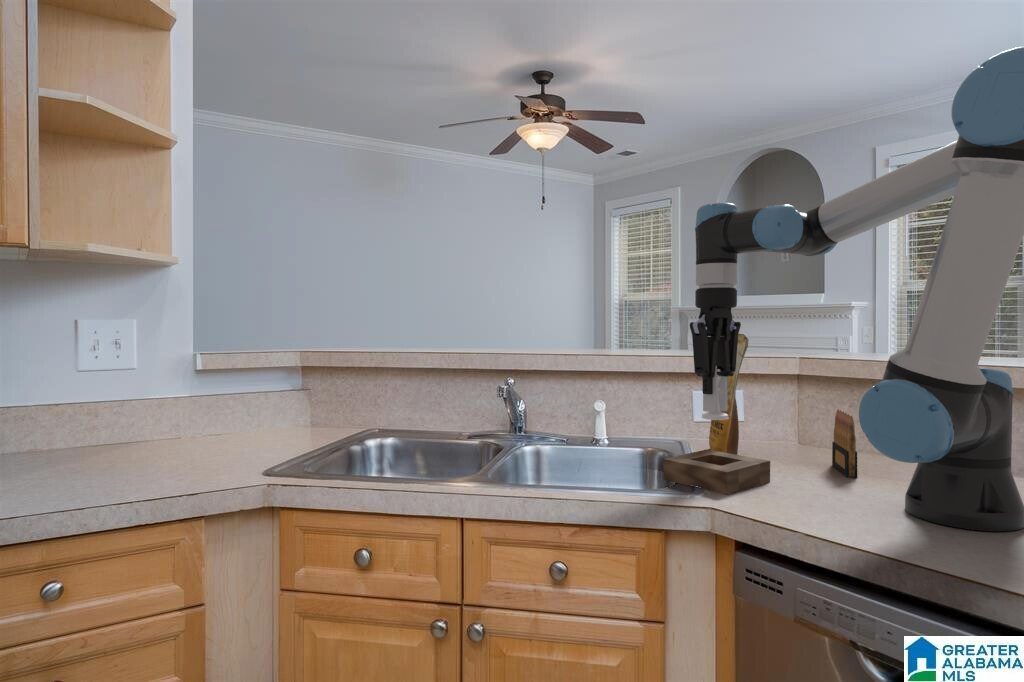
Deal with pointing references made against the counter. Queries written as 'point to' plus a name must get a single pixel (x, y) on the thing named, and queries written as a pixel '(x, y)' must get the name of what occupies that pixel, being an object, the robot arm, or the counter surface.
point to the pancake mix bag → (729, 411)
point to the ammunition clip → (844, 445)
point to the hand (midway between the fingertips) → (715, 410)
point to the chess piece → (719, 414)
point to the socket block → (717, 471)
